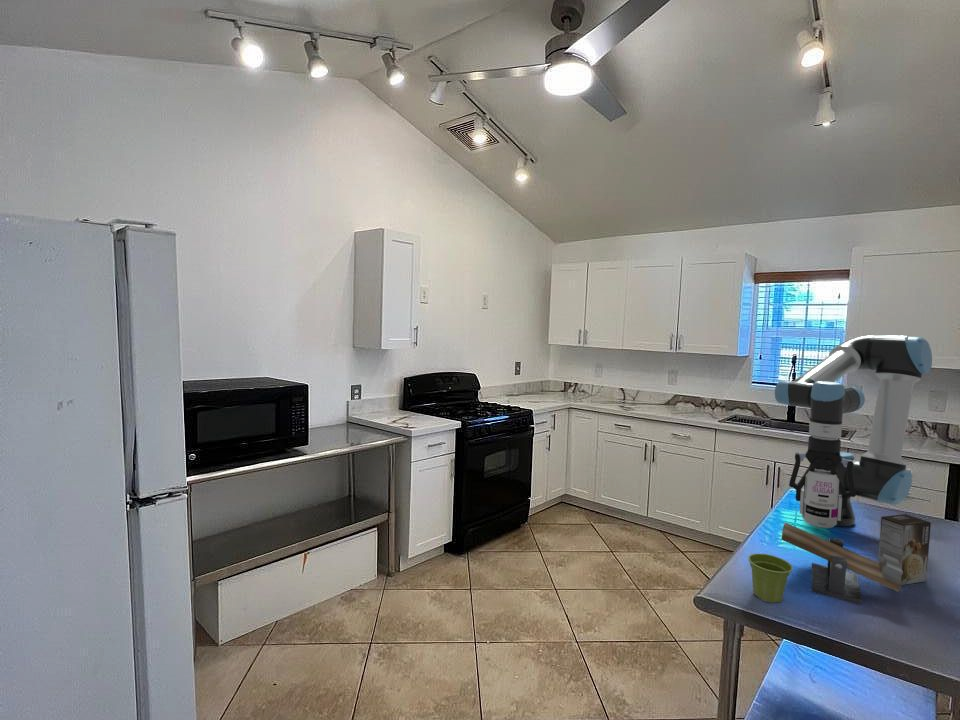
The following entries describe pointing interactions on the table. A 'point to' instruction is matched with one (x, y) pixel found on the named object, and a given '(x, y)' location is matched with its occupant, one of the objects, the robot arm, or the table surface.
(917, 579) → the coffee box
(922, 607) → the table surface
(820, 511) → the supplement can
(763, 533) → the table surface
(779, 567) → the plant pot
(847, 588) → the stand
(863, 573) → the balance beam
